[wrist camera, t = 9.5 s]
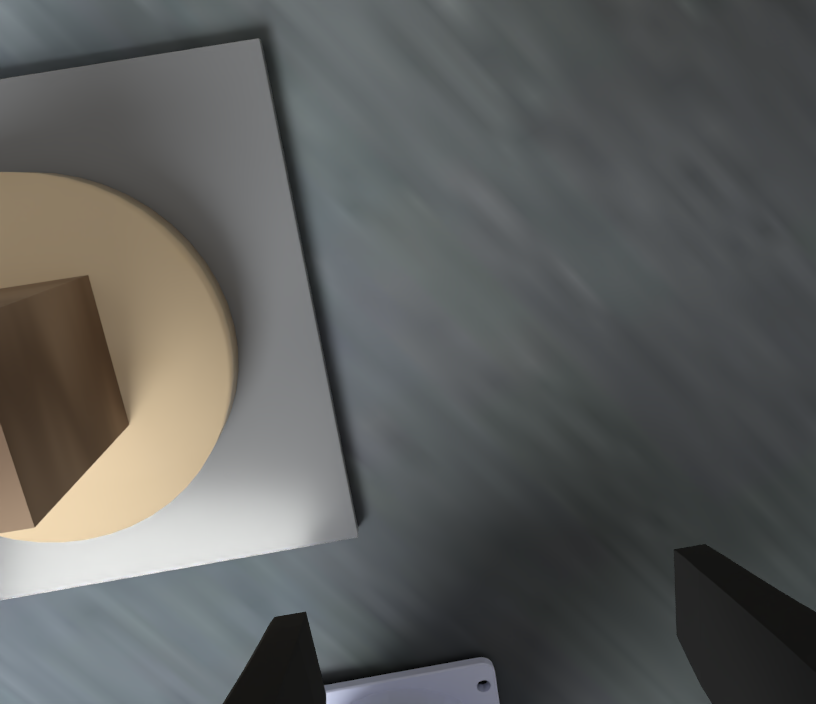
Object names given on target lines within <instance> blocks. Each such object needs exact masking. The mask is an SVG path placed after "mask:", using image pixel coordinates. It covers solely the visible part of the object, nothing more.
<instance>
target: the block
mask: <svg viewBox="0 0 816 704" xmlns="http://www.w3.org/2000/svg"><path fill="white" fill-rule="evenodd" d="M128 426H129V422H128V418H127V414H126V411H125V407H124V404H123V400H122V396H121V393H120V389H119V385H118V382H117V378H116V374H115V371H114V367H113V363H112V360H111V356H110V353H109V349H108V345H107V342H106V338H105V334H104V331H103V327H102V323H101V320H100V316H99V313H98V309H97V305H96V302H95V298H94V294H93V291H92V287H91V283H90V280H89V276H88V275H85V276H78V277H72V278H65V279H59V280H52V281H46V282H39V283H33V284H27V285H20V286H14V287H7V288H1V289H0V533H6V532H12V531H18V530H24V529H30V528H35V527H36V526H37V525H38V524H39V522H40V521H41V520H42V519H43V518H44V517H45V516H46V515H47V514H48V513H49V512H50V510H51V509H52V508H53V507H54V506H55V505H56V504H57V503H58V502H59V501H60V500H61V499H62V497H63V496H64V495H65V494H66V493H67V492H68V491H69V490H70V489H71V488H72V487H73V486H74V484H75V483H76V482H77V481H78V480H79V479H80V478H81V477H82V476H83V475H84V474H85V473H86V471H87V470H88V469H89V468H90V467H91V466H92V465H93V464H94V463H95V462H96V461H97V459H98V458H99V457H100V456H101V455H102V454H103V453H104V452H105V451H106V450H107V449H108V448H109V446H110V445H111V444H112V443H113V442H114V441H115V440H116V439H117V438H118V437H119V436H120V435H121V433H122V432H123V431H124V430H125V429H126V428H127V427H128Z"/></svg>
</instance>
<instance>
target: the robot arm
mask: <svg viewBox="0 0 816 704" xmlns="http://www.w3.org/2000/svg"><path fill="white" fill-rule="evenodd" d="M674 566H675V597H676V628H677V637H678V639H679V641H680V643H681V645H682V647H683V650H684V652H685V654H686V656H687V658H688V660H689V662H690V664H691V666H692V668H693V670H694V672H695V674H696V676H697V678H698V680H699V682H700V684H701V686H702V688H703V690H704V691H705V693H706V694H707V696H708V698H709V699H710V701H711V702H712V704H816V612H815V611H813V610H811V609H809V608H808V607H806V606H804V605H803V604H801V603H799V602H797V601H796V600H794V599H792V598H791V597H789V596H788V595H786V594H784V593H783V592H781V591H779V590H778V589H776V588H774V587H773V586H771V585H770V584H768V583H766V582H765V581H763V580H762V579H760V578H758V577H757V576H755V575H754V574H752V573H750V572H749V571H747V570H746V569H744V568H743V567H741V566H739V565H738V564H736V563H735V562H733V561H732V560H730V559H728V558H727V557H725V556H724V555H722V554H720V553H719V552H717V551H716V550H714V549H712V548H711V547H709V546H707V545H706V544H703V545H697V546H692V547H686V548H680V549H674ZM482 680H487V682H486V683H485V684H478V683H479V682H480V681H482ZM223 704H500V703H499V696H498V689H497V682H496V675H495V670H494V666H493V664H492V662H491V661H490V660H489V659H487V658H484V657H478V658H472V659H467V660H461V661H456V662H450V663H445V664H439V665H434V666H428V667H423V668H417V669H412V670H406V671H401V672H395V673H389V674H384V675H378V676H373V677H367V678H362V679H356V680H351V681H345V682H340V683H334V684H329V685H324V684H323V680H322V675H321V671H320V667H319V663H318V659H317V655H316V651H315V647H314V643H313V639H312V635H311V631H310V627H309V622H308V618H307V614H306V612H301V613H295V614H290V615H284V616H278V617H274V619H273V620H272V621H271V622H270V624H269V626H268V628H267V630H266V631H265V633H264V635H263V637H262V639H261V640H260V642H259V644H258V646H257V648H256V649H255V651H254V653H253V655H252V656H251V658H250V660H249V661H248V663H247V665H246V667H245V668H244V670H243V672H242V673H241V675H240V677H239V678H238V680H237V682H236V683H235V685H234V686H233V688H232V690H231V691H230V693H229V694H228V696H227V698H226V699H225V701H224V703H223Z"/></svg>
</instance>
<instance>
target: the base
mask: <svg viewBox="0 0 816 704" xmlns="http://www.w3.org/2000/svg"><path fill="white" fill-rule="evenodd" d="M85 275H88V276H89V280H90V283H91V287H92V291H93V294H94V298H95V302H96V305H97V309H98V313H99V316H100V320H101V323H102V327H103V331H104V334H105V338H106V342H107V345H108V349H109V353H110V356H111V360H112V363H113V367H114V371H115V374H116V378H117V382H118V385H119V389H120V393H121V396H122V400H123V404H124V407H125V411H126V414H127V418H128V422H129V426H128V427H127V428H126V429H125V430H124V431H123V432H122V433H121V435H120V436H119V437H118V438H117V439H116V440H115V441H114V442H113V443H112V444H111V445H110V446H109V448H108V449H107V450H106V451H105V452H104V453H103V454H102V455H101V456H100V457H99V458H98V459H97V461H96V462H95V463H94V464H93V465H92V466H91V467H90V468H89V469H88V470H87V471H86V473H85V474H84V475H83V476H82V477H81V478H80V479H79V480H78V481H77V482H76V483H75V484H74V486H73V487H72V488H71V489H70V490H69V491H68V492H67V493H66V494H65V495H64V496H63V497H62V499H61V500H60V501H59V502H58V503H57V504H56V505H55V506H54V507H53V508H52V509H51V510H50V512H49V513H48V514H47V515H46V516H45V517H44V518H43V519H42V520H41V521H40V522H39V524H38V525H37V526H36V527H35V528H30V529H24V530H18V531H12V532H6V533H0V600H4V599H10V598H16V597H21V596H27V595H33V594H39V593H44V592H50V591H56V590H61V589H67V588H73V587H78V586H84V585H90V584H95V583H101V582H107V581H112V580H118V579H124V578H129V577H135V576H141V575H147V574H152V573H158V572H164V571H169V570H175V569H181V568H186V567H192V566H198V565H203V564H209V563H215V562H220V561H226V560H232V559H237V558H243V557H249V556H254V555H260V554H266V553H272V552H277V551H283V550H289V549H294V548H300V547H306V546H311V545H317V544H323V543H328V542H334V541H340V540H345V539H351V538H357V537H358V524H357V519H356V514H355V509H354V504H353V499H352V494H351V489H350V484H349V479H348V474H347V469H346V464H345V459H344V454H343V449H342V444H341V439H340V433H339V428H338V423H337V418H336V413H335V408H334V403H333V398H332V393H331V388H330V383H329V378H328V373H327V368H326V363H325V358H324V353H323V347H322V342H321V337H320V332H319V327H318V322H317V317H316V312H315V307H314V302H313V297H312V292H311V287H310V282H309V277H308V272H307V267H306V262H305V256H304V251H303V246H302V241H301V236H300V231H299V226H298V221H297V216H296V211H295V206H294V201H293V196H292V191H291V186H290V181H289V176H288V170H287V165H286V160H285V155H284V150H283V145H282V140H281V135H280V130H279V125H278V120H277V115H276V110H275V105H274V100H273V95H272V90H271V84H270V79H269V74H268V69H267V64H266V59H265V54H264V49H263V44H262V41H261V40H260V39H259V38H258V39H251V40H245V41H239V42H232V43H226V44H220V45H213V46H207V47H201V48H194V49H188V50H182V51H175V52H169V53H163V54H156V55H150V56H144V57H137V58H131V59H124V60H118V61H112V62H106V63H99V64H93V65H86V66H80V67H74V68H67V69H61V70H55V71H48V72H42V73H36V74H29V75H23V76H17V77H10V78H4V79H0V289H1V288H7V287H14V286H20V285H27V284H33V283H39V282H46V281H52V280H59V279H65V278H72V277H78V276H85Z"/></svg>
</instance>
